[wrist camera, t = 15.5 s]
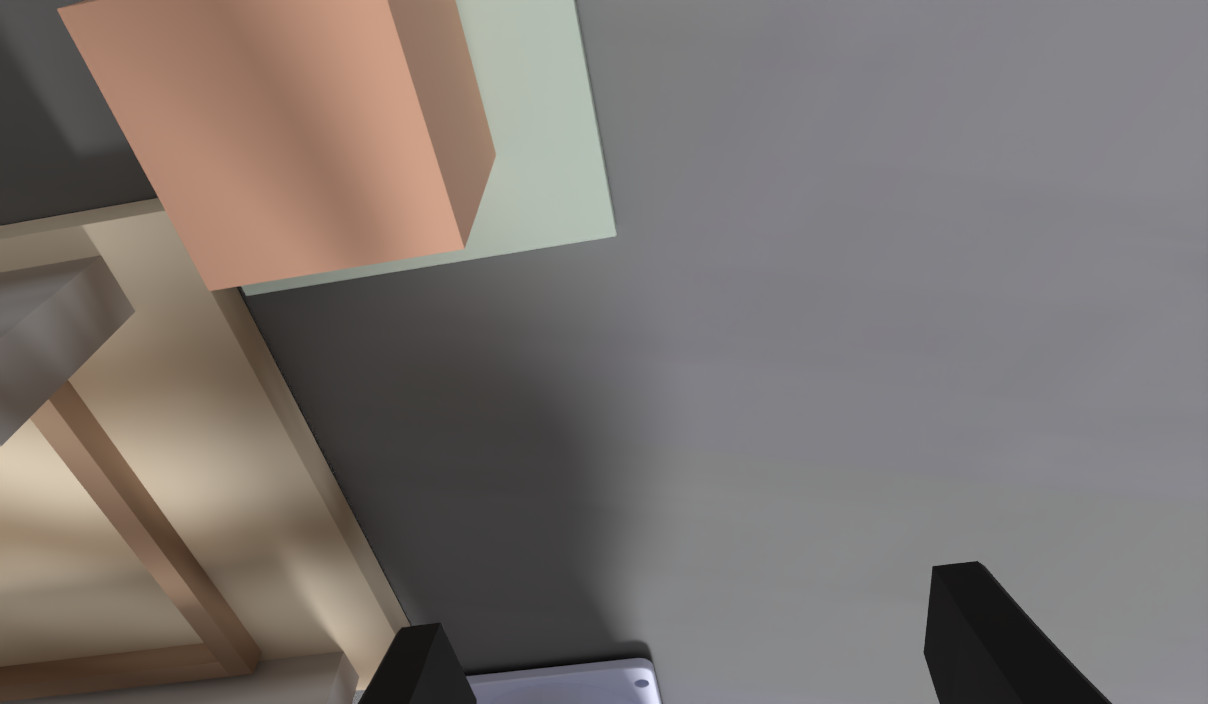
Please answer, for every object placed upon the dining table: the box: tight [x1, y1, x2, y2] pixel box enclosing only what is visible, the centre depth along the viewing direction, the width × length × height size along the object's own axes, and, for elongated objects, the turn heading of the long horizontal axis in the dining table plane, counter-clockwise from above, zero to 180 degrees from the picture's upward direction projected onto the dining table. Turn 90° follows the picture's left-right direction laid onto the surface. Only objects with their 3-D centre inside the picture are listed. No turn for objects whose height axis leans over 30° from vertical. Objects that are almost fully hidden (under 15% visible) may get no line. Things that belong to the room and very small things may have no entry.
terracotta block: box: [57, 0, 496, 291], centre depth 13 cm, size 4×4×4 cm
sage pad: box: [241, 0, 617, 296], centre depth 15 cm, size 9×9×1 cm
